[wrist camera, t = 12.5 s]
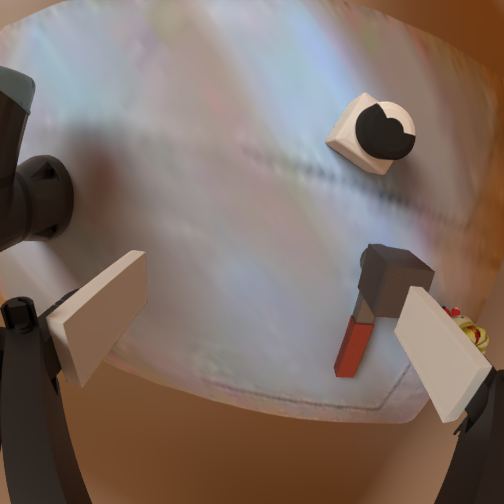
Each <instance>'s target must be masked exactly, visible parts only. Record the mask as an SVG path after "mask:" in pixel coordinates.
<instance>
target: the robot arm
mask: <svg viewBox="0 0 504 504" xmlns="http://www.w3.org/2000/svg"><path fill="white" fill-rule="evenodd" d="M35 89H36V86H35V82H34V81H33V79H32V78H31V77H29V76H27V75H25V74H23V73H20V72H18V71H15V70H12V69H9V68H6V67H3V66H0V252H2V251H4V250H5V249H7V248H9V247H11V246H14V245H16V244H18V243H20V242H22V241H47V240H50V239H52V238H55V237H57V236H58V235H60V234H61V233H62V232H63V231H64V230H65V229H66V227H67V226H68V224H69V221H70V218H71V215H72V210H73V189H72V184H71V180H70V177H69V175H68V173H67V171H66V169H65V167H64V166H63V164H62V163H61V162H60V161H59V160H58V159H56V158H55V157H53V156H50V155H40V156H34V157H31V158H29V159H28V160H26V161H24V162H23V163H21V164H20V165H18V166H17V162H18V157H19V152H20V147H21V143H22V139H23V135H24V131H25V127H26V123H27V120H28V116H29V115H30V113H31V111H30V108H31V104H32V100H33V97H34V93H35ZM146 303H147V286H146V252H143V251H136V250H131V251H130V252H128V253H127V254H125V255H124V256H123V257H121V258H120V259H119V260H117V261H116V262H115V263H113V264H112V265H111V266H109V267H108V268H107V269H105V270H104V271H103V272H101V273H100V274H99V275H98V276H96V277H95V278H94V279H92V280H91V281H90V282H89V283H87V284H86V285H85V286H83V287H82V288H81V289H76V290H74V291H72V292H69V293H67V294H66V295H65V296H64V297H62V298H61V300H59V301H57V302H56V303H55V305H52V306H51V307H50V308H49V309H47V310H46V311H45V312H44V313H43V314H41V315H40V316H39V317H38V318H37V315H36V311H35V307H34V303H33V300H32V299H30V298H28V297H15V298H12V299H10V300H8V301H6V302H5V303H4V304H2V306H1V308H0V309H1V313H2V316H3V319H4V322H5V326H6V327H0V450H1V444H2V450H3V460H4V468H5V475H6V481H7V487H8V492H9V496H10V501H11V504H92V502H91V499H90V497H89V494H88V492H87V489H86V486H85V484H84V481H83V478H82V475H81V472H80V469H79V466H78V463H77V460H76V457H75V453H74V450H73V446H72V443H71V439H70V435H69V432H68V427H67V423H66V418H65V414H64V409H63V404H62V398H61V393H60V387H59V382H58V379H57V376H56V375H57V374H58V373H59V372H60V370H61V369H62V372H63V375H64V377H65V380H66V381H67V382H69V383H72V384H74V385H76V386H79V387H81V388H82V387H83V386H84V385H85V383H86V382H87V380H88V379H89V378H90V376H91V375H92V374H93V372H94V371H95V370H96V368H97V367H98V365H99V364H100V362H101V361H102V360H103V359H104V357H105V356H106V355H107V353H108V352H109V351H110V349H111V348H112V347H113V345H114V344H115V343H116V341H117V340H118V339H119V338H120V336H121V335H122V334H123V332H124V331H125V330H126V329H127V327H128V326H129V325H130V323H131V322H132V321H133V320H134V318H135V317H136V316H137V314H138V313H139V312H140V311H141V309H142V308H143V307H144V306H145V304H146ZM394 333H395V335H396V336H397V338H398V340H399V341H400V343H401V345H402V347H403V348H404V350H405V352H406V354H407V355H408V357H409V359H410V361H411V362H412V364H413V366H414V368H415V370H416V372H417V373H418V375H419V377H420V379H421V381H422V383H423V385H424V387H425V388H426V390H427V392H428V394H429V396H430V398H431V400H432V402H433V404H434V406H435V408H436V410H437V412H438V414H439V416H440V418H441V420H442V422H443V423H446V422H451V421H456V420H457V419H458V417H459V416H460V415H461V414H462V412H463V411H464V409H465V411H466V412H467V414H468V415H467V417H466V418H465V419H464V420H463V422H462V423H461V424H460V425H459V427H458V428H457V429H456V430H455V432H454V435H456V433H457V432H458V431H460V434H459V435H458V437H459V438H458V441H457V445H456V448H455V451H454V454H453V457H452V460H451V463H450V466H449V469H448V472H447V474H446V477H445V479H444V482H443V484H442V487H441V489H440V491H439V494H438V496H437V498H436V500H435V503H434V504H504V370H499V371H496V370H495V368H494V367H493V366H492V364H491V363H490V362H489V361H488V359H487V358H486V357H485V356H484V354H482V352H481V351H480V349H479V348H477V346H476V345H475V344H474V342H473V341H472V340H471V339H469V338H468V336H467V335H466V334H465V333H464V332H463V331H462V329H461V328H460V327H459V326H458V325H457V324H456V323H455V322H454V320H453V319H452V318H451V317H450V316H449V315H448V314H447V313H446V312H445V311H444V310H443V308H442V307H441V306H440V305H439V304H438V303H437V302H436V301H435V300H434V299H433V298H432V297H431V296H430V295H429V294H428V293H427V292H426V291H425V290H424V289H423V288H422V287H415V286H410V289H409V292H408V295H407V298H406V301H405V304H404V307H403V309H402V312H401V315H400V318H399V320H398V323H397V326H396V328H395V331H394Z"/></svg>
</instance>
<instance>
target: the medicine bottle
mask: <svg viewBox="0 0 504 504" xmlns="http://www.w3.org/2000/svg"><path fill="white" fill-rule="evenodd" d="M415 137H416V132H415V127H414V123H413V121H412V119H411V117H410V116H409V114H408V113H407V112H406V111H405V110H404V109H403V108H402V107H400V106H399V105H397V104H395V103H392V102H378V101H377V100H376V99H374V98H373V97H372V96H370V95H369V94H367V93H363V94H362V95H360V96H359V97H357V98H356V99H354V100H353V101H351V102H350V103H349V104H348V105H347V107H346V109H345V110H344V112H343V113H342V115H341V116H340V118H339V120H338V121H337V123H336V124H335V126H334V127H333V129H332V131H331V132H330V134H329V135H328V137H327V138H326V140H325V143H326V144H327V145H328V146H330V147H331V148H333V149H334V150H336V151H337V152H339V153H340V154H342V155H343V156H344V157H346V158H347V159H349V160H350V161H351V162H353V163H354V164H356V165H357V166H358V167H360V168H361V169H362V170H364V171H365V172H370V173H375V174H380V175H385V174H386V172H387V171H388V169H389V167H390V166H391V164H392V162H393V161H394V160H398V159H401V158H403V157H405V156H406V155H407V154H409V152H410V151H411V150H412V148H413V146H414V143H415Z"/></svg>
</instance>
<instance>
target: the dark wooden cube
mask: <svg viewBox="0 0 504 504" xmlns="http://www.w3.org/2000/svg"><path fill="white" fill-rule="evenodd" d="M434 273H435V271H433V270H432V269H431V268H430V267H429V266H427V265H426V264H425V263H424V262H422V261H421V260H420V259H419V258H417V257H416V256H415V255H414V254H412V253H411V252H410V251H409V250H404V249H398V248H392V247H386V246H380V245H374V244H368V249H367V253H366V257H365V261H364V265H363V269H362V273H361V276H360V280H359V284H358V289H359V290H360V292H361V294H362V296H363V297H364V299H365V301H366V303H367V304H368V306H369V308H370V310H371V311H372V313H373V315H374V316H377V317H390V318H400V315H401V312H402V309H403V307H404V304H405V301H406V298H407V295H408V292H409V289H410V286H415V287H422V288H423V289H424V290H425V291H426V292H427V293H428V291H429V289H430V286H431V283H432V280H433V277H434Z"/></svg>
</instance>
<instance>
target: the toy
mask: <svg viewBox="0 0 504 504" xmlns="http://www.w3.org/2000/svg"><path fill="white" fill-rule="evenodd" d="M442 308H443V310H444V311H445V312H446V313H447V314H448V315H449V316H450V311H449V310H448V309H446V307H442ZM459 313H460V311H459V308H458V307H455V308H453V309H452V319H453V320H454V322H455V323H456V324H457V325H458V326H459V327H460V328H461V329H462V331H463V332H464V333H465V334H466V335H467V336H468V338H469V339H471V340H472V341H473V342H474V344H475V345H476V346H477V348H479V349H480V351H481V352H482V354H485V351H486V350H485V348H484V347H486V346H487V344H488V343H489V337H488V335H486V332H485V330H484V329H483V328H479V327H477V326H476V325H475V324H474V323H473V322H472V321H471V320H470V319H469V318H468V317H466V316H463V315H459ZM478 329H479V330H480V331H479V330H478ZM479 337H480V340H479V342H478V339H479ZM484 339H486V341H487V342H485V343H483V344H482V345H479V343H481V342H483V340H484Z"/></svg>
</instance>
